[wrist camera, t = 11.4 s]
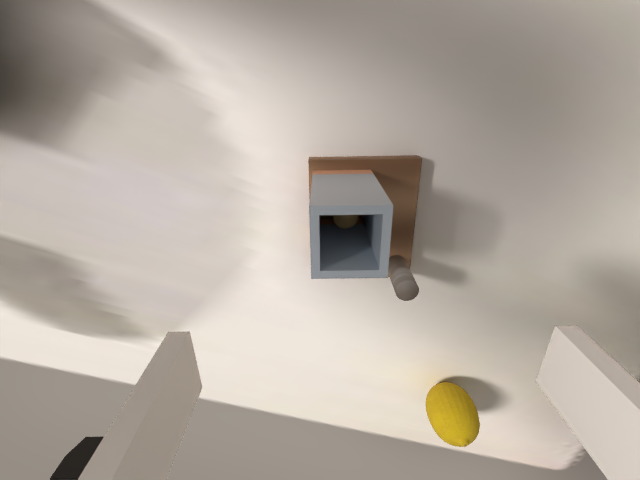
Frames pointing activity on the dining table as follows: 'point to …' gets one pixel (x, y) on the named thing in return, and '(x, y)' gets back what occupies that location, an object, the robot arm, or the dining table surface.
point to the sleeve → (358, 241)
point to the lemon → (452, 414)
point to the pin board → (402, 190)
